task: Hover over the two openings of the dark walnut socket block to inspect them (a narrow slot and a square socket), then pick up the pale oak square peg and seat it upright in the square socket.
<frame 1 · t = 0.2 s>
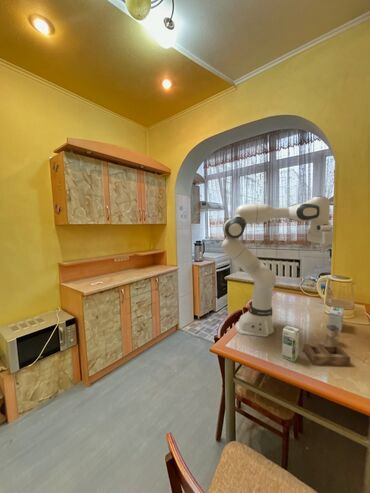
hand: (318, 250, 124), 47 cm above the table, fingers open, 8 cm apart
oak peg: (331, 342, 117), on the table
socket block: (325, 357, 105), on the table
syrup box: (290, 357, 106), on the table
light bulb box: (335, 327, 132), on the table
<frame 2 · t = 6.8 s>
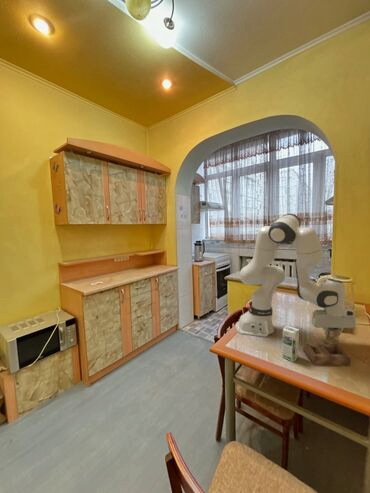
hand: (332, 334, 116), 5 cm above the table, fingers closed on oak peg, 4 cm apart
oak peg: (331, 342, 117), on the table, touching gripper
everything else where it was.
when the fingers open (6 cm above the table, at t = 12.4 s): oak peg drops 1 cm, resting in socket block.
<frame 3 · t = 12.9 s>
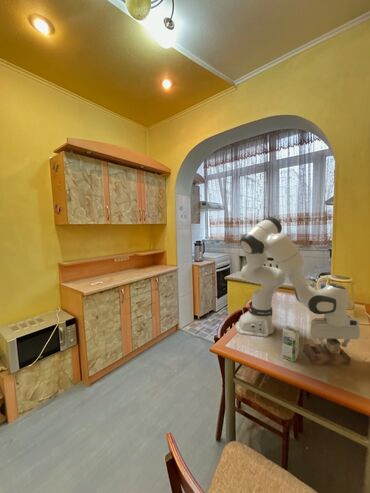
hand: (333, 346, 104), 6 cm above the table, fingers open, 8 cm apart
oak peg: (332, 358, 105), resting in socket block
everything else where it was.
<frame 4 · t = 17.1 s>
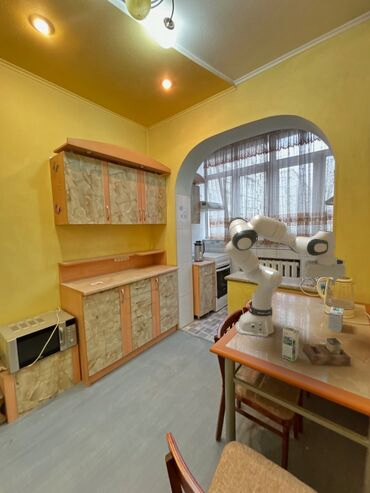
hand: (323, 284, 122), 29 cm above the table, fingers open, 8 cm apart
nothing on the table moved.
at the end: oak peg 0.1 cm from the target spot on the socket block, point 0.0 cm above the socket block's base; oak peg tilted 0°; the gripper is holding nothing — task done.
